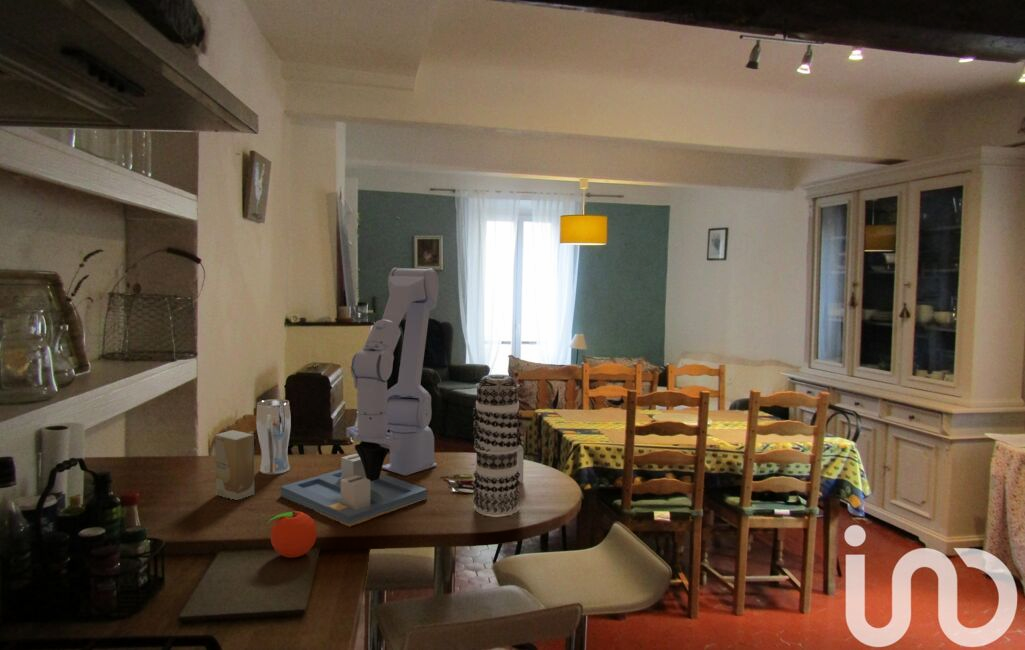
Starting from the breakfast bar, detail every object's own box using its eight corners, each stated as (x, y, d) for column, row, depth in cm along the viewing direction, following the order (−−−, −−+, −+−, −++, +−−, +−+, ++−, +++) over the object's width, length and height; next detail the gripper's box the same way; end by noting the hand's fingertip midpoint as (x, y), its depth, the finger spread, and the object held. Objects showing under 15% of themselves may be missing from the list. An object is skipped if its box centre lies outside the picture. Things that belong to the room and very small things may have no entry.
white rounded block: (523, 487, 138) (524, 430, 137) (495, 487, 138) (496, 429, 137) (523, 480, 142) (523, 424, 141) (496, 479, 142) (496, 424, 141)
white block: (356, 476, 140) (355, 452, 139) (368, 480, 137) (368, 457, 137) (341, 480, 137) (341, 456, 137) (353, 485, 135) (353, 461, 134)
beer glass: (279, 463, 152) (277, 397, 150) (298, 469, 147) (297, 401, 146) (251, 471, 146) (249, 402, 144) (270, 477, 142) (268, 407, 140)
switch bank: (357, 473, 145) (357, 464, 145) (427, 499, 131) (427, 488, 131) (281, 496, 131) (280, 485, 131) (349, 527, 117) (349, 515, 117)
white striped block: (357, 499, 127) (356, 474, 126) (370, 505, 124) (370, 479, 124) (340, 505, 124) (340, 479, 123) (354, 510, 121) (353, 484, 121)
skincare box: (215, 495, 131) (212, 434, 130) (233, 489, 135) (231, 429, 134) (238, 502, 128) (236, 439, 127) (256, 494, 132) (254, 433, 131)
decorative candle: (463, 513, 124) (463, 379, 121) (483, 496, 133) (484, 370, 130) (509, 521, 121) (511, 383, 118) (527, 503, 129) (529, 374, 126)
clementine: (260, 567, 102) (258, 522, 102) (268, 547, 109) (267, 505, 108) (314, 564, 104) (313, 519, 103) (319, 544, 111) (318, 502, 110)
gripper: (333, 408, 133) (334, 475, 135) (379, 421, 124) (380, 493, 125) (362, 403, 139) (363, 467, 140) (409, 415, 129) (409, 483, 131)
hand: (373, 479), depth 133 cm, fingers closed
